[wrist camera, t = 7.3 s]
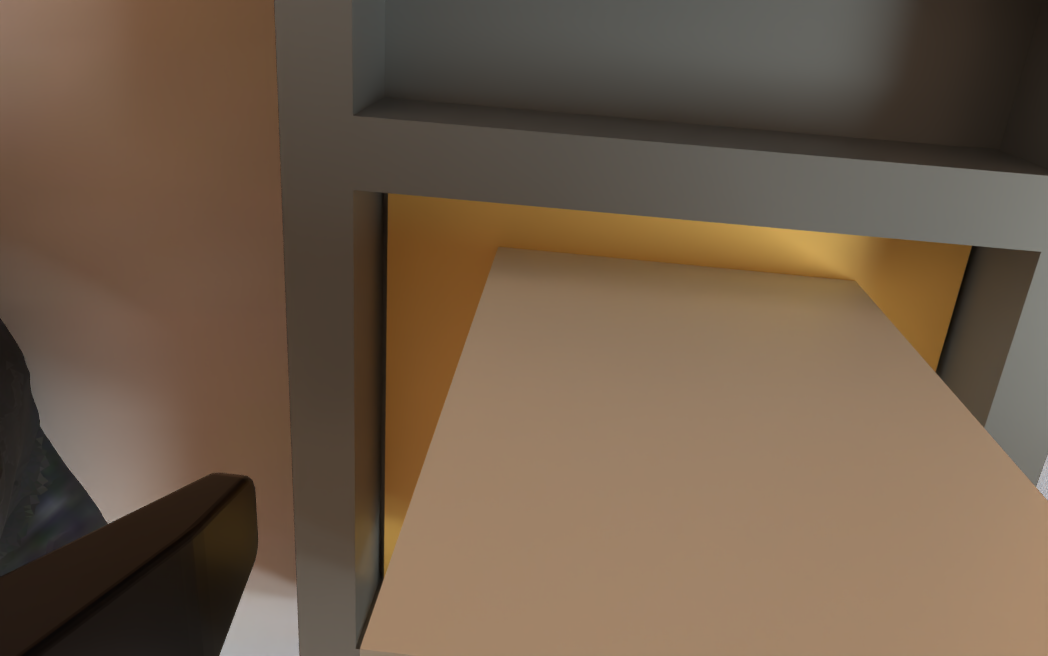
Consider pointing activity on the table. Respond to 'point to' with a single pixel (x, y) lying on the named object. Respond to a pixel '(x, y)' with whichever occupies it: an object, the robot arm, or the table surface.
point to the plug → (706, 480)
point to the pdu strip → (636, 204)
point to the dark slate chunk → (33, 475)
